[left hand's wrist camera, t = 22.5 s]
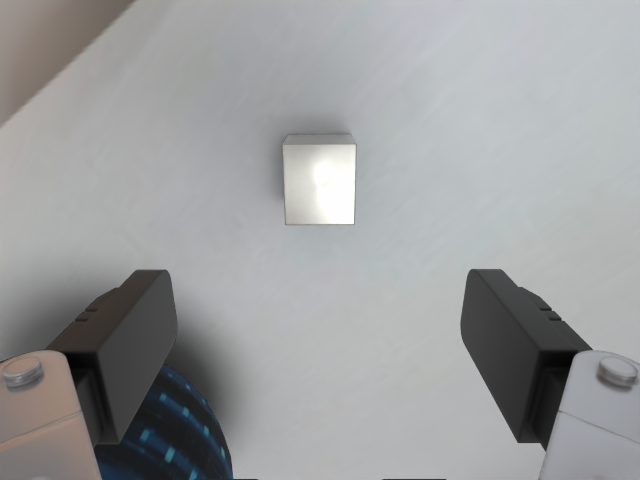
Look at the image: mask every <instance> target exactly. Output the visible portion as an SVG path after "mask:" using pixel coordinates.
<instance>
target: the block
mask: <svg viewBox="0 0 640 480" xmlns="http://www.w3.org/2000/svg"><path fill="white" fill-rule="evenodd" d="M356 152H357V144H356V142H355V141H354V139H353V137H352V135H351V134H288V135H287V137H286V139H285V140H284V142H283V144H282V159H283V184H284V208H285V225H354V224H355V191H356Z"/></svg>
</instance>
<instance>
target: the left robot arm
mask: <svg viewBox="0 0 640 480" xmlns="http://www.w3.org/2000/svg"><path fill="white" fill-rule="evenodd" d="M176 335H177V317H176V310H175V303H174V297H173V290H172V283H171V277H170V274H169V272H168V271H167V270H136V271H135V272H134V273H133V274H132V275H131V276H130V277H129V278H128V279H127V280H126V281H125V282H124V283H123V284H122V285H121V286H120V287H119V288H114V289H112V290H110V291H109V292H107V293H105V294H103V295H101V296H100V297H98V298H97V299H96V300H94V301H93V302H92V303H91V304H90V305H89V306H88V307H87V308H86V309H85V312H82V313H81V314H80V315H79V316H78V317H77V318H76V319H75V322H72V323H71V324H70V325H69V326H68V327H67V328H66V329H65V330H64V331H63V332H62V333H61V334H60V335H59V336H58V337H57V338H56V339H55V340H54V341H53V342H52V343H51V344H50V345H49V346H48V347H47V348H46V349H45V350H42V351H35V352H30V353H26V354H22V355H19V356H16V357H14V358H11V359H9V360H7V361H5V362H3V363H1V364H0V480H102V478H101V475H100V471H99V468H98V464H97V461H96V457H95V454H94V451H93V449H94V447H95V446H96V444H119V443H120V441H121V440H122V438H123V436H124V434H125V432H126V430H127V429H128V427H129V425H130V423H131V421H132V420H133V418H134V416H135V414H136V412H137V410H138V409H139V407H140V405H141V403H142V401H143V400H144V398H145V396H146V394H147V392H148V390H149V389H150V387H151V385H152V383H153V381H154V379H155V378H156V376H157V374H158V372H159V370H160V369H161V367H162V365H163V363H164V361H165V359H166V358H167V356H168V354H169V352H170V350H171V349H172V347H173V345H174V343H175V340H176ZM461 335H462V339H463V342H464V345H465V346H466V348H467V350H468V352H469V354H470V356H471V357H472V359H473V361H474V363H475V365H476V367H477V368H478V370H479V372H480V374H481V376H482V378H483V380H484V381H485V383H486V385H487V387H488V389H489V391H490V392H491V394H492V396H493V398H494V400H495V402H496V403H497V405H498V407H499V409H500V411H501V413H502V415H503V416H504V418H505V420H506V422H507V424H508V426H509V427H510V429H511V431H512V433H513V435H514V437H515V438H516V440H517V442H518V443H541V445H542V447H543V448H544V450H545V452H546V454H545V457H544V461H543V464H542V468H541V471H540V475H539V478H538V480H640V364H639V363H637V362H635V361H633V360H631V359H629V358H626V357H624V356H621V355H618V354H614V353H610V352H605V351H598V350H593V349H592V348H591V347H590V346H589V345H588V344H587V343H586V342H585V341H584V340H583V339H582V338H581V337H580V336H579V335H578V334H577V333H576V332H575V331H574V330H573V329H572V328H571V327H570V326H569V325H568V324H567V323H566V322H565V321H562V320H561V317H560V316H559V315H558V314H557V313H556V312H555V311H552V308H551V307H550V306H549V305H548V304H546V303H545V302H544V301H543V300H542V299H541V298H540V297H539V296H537V295H535V294H534V293H532V292H530V291H528V290H526V289H525V288H523V287H518V286H517V285H516V284H515V283H514V282H513V281H512V280H511V279H510V278H509V277H508V276H507V275H506V274H505V272H504V271H502V270H501V269H471V270H470V271H469V273H468V276H467V281H466V288H465V294H464V301H463V308H462V315H461ZM194 480H257V479H194ZM383 480H446V479H383Z"/></svg>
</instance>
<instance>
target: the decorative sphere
mask: <svg viewBox="0 0 640 480" xmlns="http://www.w3.org/2000/svg"><path fill="white" fill-rule="evenodd" d="M43 350H45V349H43ZM38 351H42V350H38ZM34 352H35V351H34ZM29 353H30V352H29ZM24 354H26V353H24ZM21 355H22V354H21ZM18 356H19V355H18ZM13 358H14V357H13ZM10 359H11V358H10ZM7 360H9V359H7ZM7 360H4V361H1V362H0V364H1V363H3V362H5V361H7ZM93 451H94V454H95V457H96V461H97V464H98V468H99V471H100V475H101V478H102V480H194V479H233V472H232V463H231V456H230V453H229V450H228V447H227V444H226V441H225V438H224V435H223V432H222V430H221V427H220V425H219V422H218V420H217V418H216V416H215V415H214V413H213V411H212V410H211V408H210V406H209V405H208V403H207V401H206V400H205V399H204V398H203V397H202V396H201V395H200V394H199V393H198V392H197V391H196V389H195V388H194V387H193V386H192V385H191V384H190V383H189V382H188V381H187V380H186V379H185V378H183V377H182V376H181V375H180V374H178V373H177V372H176V371H174V370H173V369H172V368H170V367H169V366H167V365H165V364H163V365H162V367H161V369H160V370H159V372H158V374H157V376H156V378H155V379H154V381H153V383H152V385H151V387H150V389H149V390H148V392H147V394H146V396H145V398H144V400H143V401H142V403H141V405H140V407H139V409H138V410H137V412H136V414H135V416H134V418H133V420H132V421H131V423H130V425H129V427H128V429H127V430H126V432H125V434H124V436H123V438H122V440H121V441H120V443H119V444H96V446H95V447H94V449H93Z"/></svg>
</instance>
